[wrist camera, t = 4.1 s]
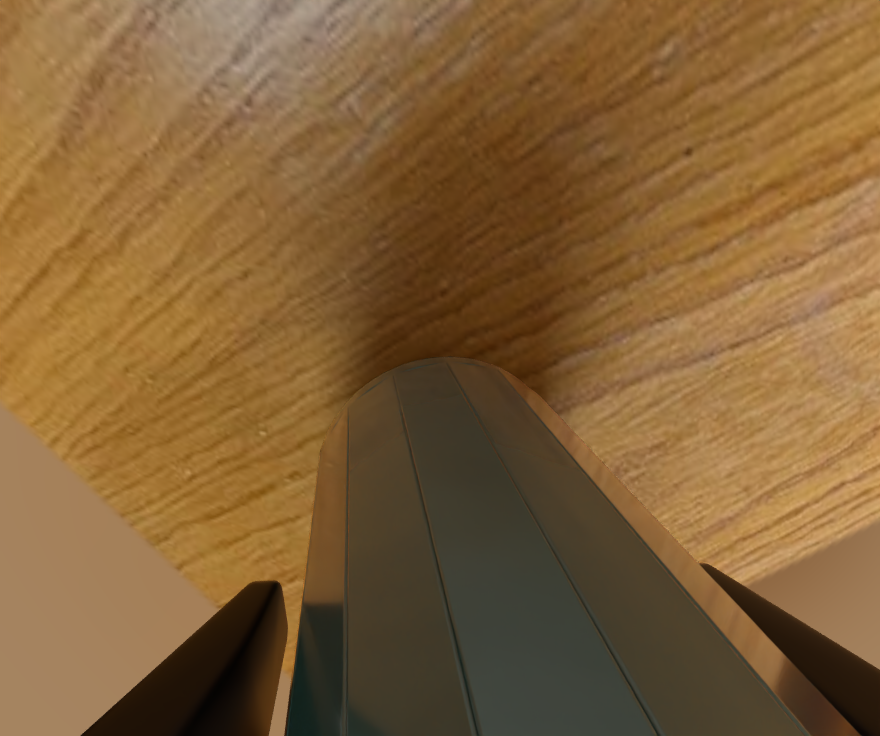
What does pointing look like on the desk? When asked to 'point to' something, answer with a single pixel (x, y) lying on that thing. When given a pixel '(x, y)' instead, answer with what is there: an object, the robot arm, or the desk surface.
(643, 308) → the desk surface
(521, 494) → the cup
